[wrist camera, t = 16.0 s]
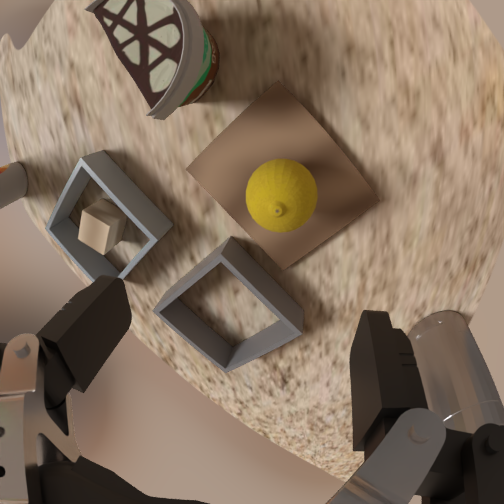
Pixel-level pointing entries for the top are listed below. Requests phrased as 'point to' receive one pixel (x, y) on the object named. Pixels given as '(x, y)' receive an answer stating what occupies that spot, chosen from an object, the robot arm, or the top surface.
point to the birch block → (102, 226)
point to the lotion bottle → (12, 183)
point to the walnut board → (282, 147)
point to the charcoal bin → (258, 284)
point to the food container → (161, 49)
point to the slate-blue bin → (122, 195)
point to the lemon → (281, 195)
